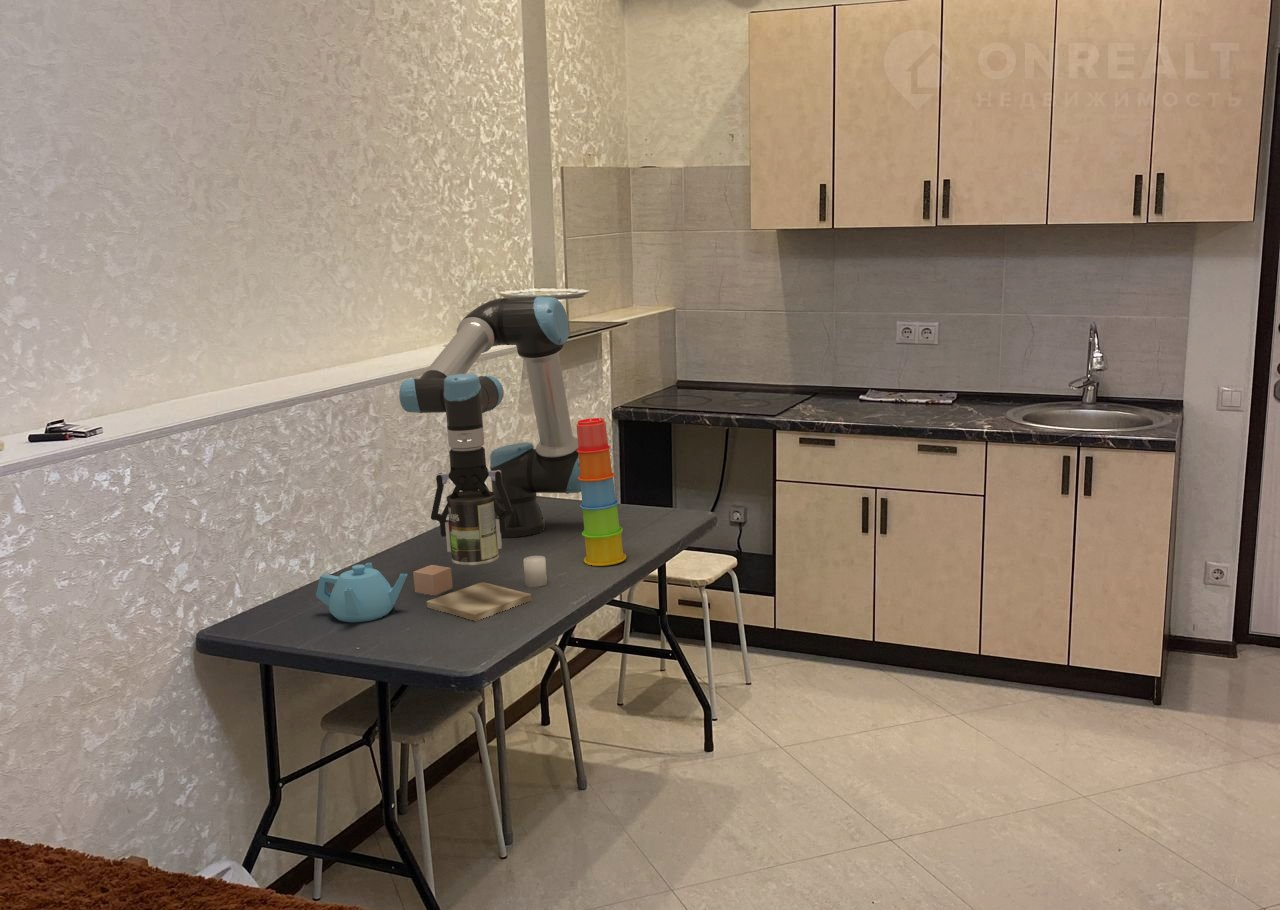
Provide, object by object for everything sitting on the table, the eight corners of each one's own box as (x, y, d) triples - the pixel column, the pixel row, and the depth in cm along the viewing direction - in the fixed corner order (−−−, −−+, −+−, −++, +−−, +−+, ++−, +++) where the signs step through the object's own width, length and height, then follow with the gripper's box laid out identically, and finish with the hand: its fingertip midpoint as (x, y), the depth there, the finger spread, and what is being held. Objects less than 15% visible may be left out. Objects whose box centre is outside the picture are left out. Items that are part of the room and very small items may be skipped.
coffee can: (458, 568, 246) (453, 503, 243) (446, 556, 255) (441, 493, 253) (505, 560, 250) (500, 496, 247) (492, 549, 259) (487, 487, 257)
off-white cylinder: (536, 579, 271) (534, 554, 269) (551, 583, 267) (549, 557, 266) (520, 585, 267) (518, 559, 266) (535, 588, 264) (533, 563, 263)
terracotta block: (433, 585, 270) (431, 564, 269) (452, 588, 267) (450, 567, 266) (415, 592, 266) (413, 571, 265) (434, 596, 262) (432, 575, 261)
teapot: (376, 597, 264) (371, 551, 262) (413, 611, 253) (408, 563, 251) (314, 615, 253) (309, 567, 251) (350, 630, 243) (345, 580, 241)
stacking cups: (597, 569, 276) (589, 425, 269) (576, 560, 284) (567, 419, 277) (634, 561, 281) (627, 419, 274) (612, 552, 289) (604, 414, 283)
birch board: (483, 588, 266) (482, 582, 266) (531, 600, 255) (531, 594, 255) (427, 607, 254) (426, 601, 254) (475, 621, 244) (474, 614, 243)
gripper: (410, 454, 244) (419, 557, 248) (519, 447, 245) (526, 550, 249) (415, 447, 251) (424, 547, 255) (520, 441, 252) (527, 540, 257)
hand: (474, 548), depth 252 cm, fingers closed on coffee can, 10 cm apart
